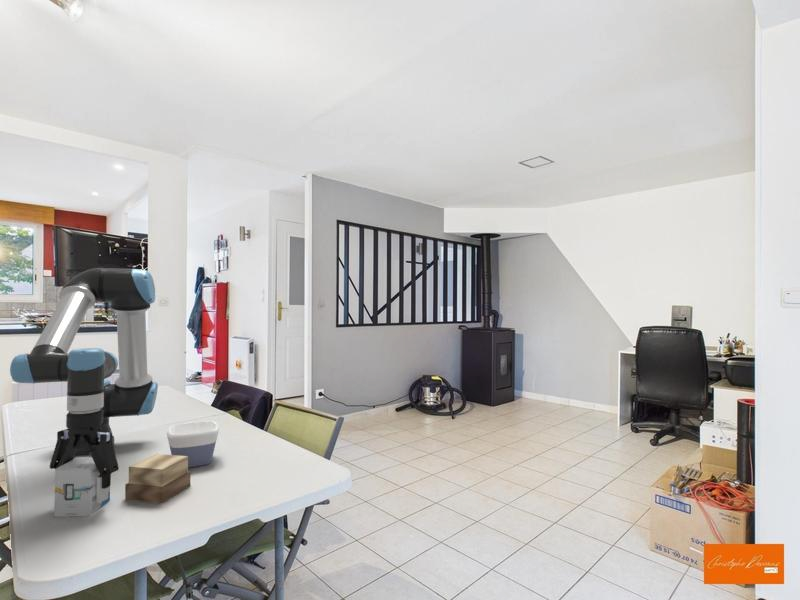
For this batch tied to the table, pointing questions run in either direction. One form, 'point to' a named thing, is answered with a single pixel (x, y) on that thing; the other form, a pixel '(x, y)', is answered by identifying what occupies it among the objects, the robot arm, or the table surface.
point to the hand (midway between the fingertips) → (83, 498)
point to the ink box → (77, 488)
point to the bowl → (194, 441)
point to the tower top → (158, 470)
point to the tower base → (157, 490)
